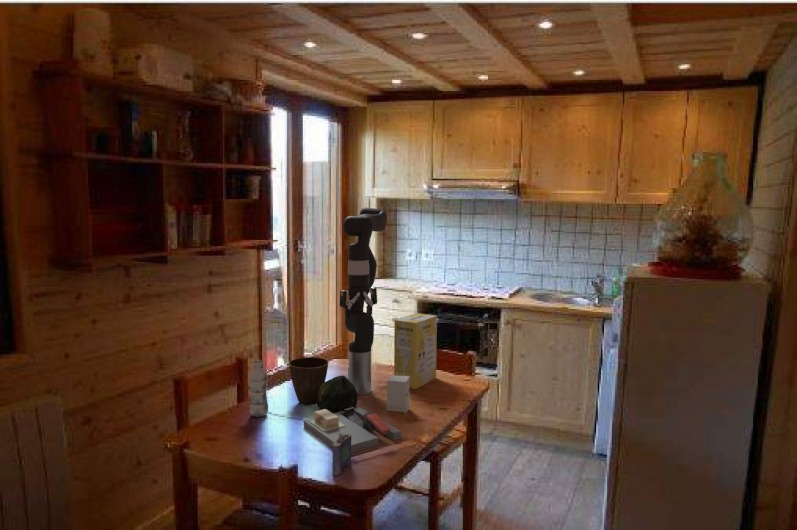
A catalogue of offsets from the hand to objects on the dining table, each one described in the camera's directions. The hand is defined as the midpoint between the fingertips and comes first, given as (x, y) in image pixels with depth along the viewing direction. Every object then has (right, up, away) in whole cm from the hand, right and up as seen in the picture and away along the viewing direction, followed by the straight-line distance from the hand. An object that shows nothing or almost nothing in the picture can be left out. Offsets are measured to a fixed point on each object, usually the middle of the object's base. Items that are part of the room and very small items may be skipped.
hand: (358, 317), depth 201 cm
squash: (-8, -36, +7) cm, 37 cm away
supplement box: (+14, -36, +8) cm, 39 cm away
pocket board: (-1, -38, -15) cm, 41 cm away
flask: (-2, -41, -38) cm, 56 cm away
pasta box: (+22, -32, +44) cm, 58 cm away
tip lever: (+3, -37, -13) cm, 39 cm away
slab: (-10, -34, -14) cm, 38 cm away
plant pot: (-20, -35, +17) cm, 43 cm away
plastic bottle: (-36, -36, +3) cm, 51 cm away
